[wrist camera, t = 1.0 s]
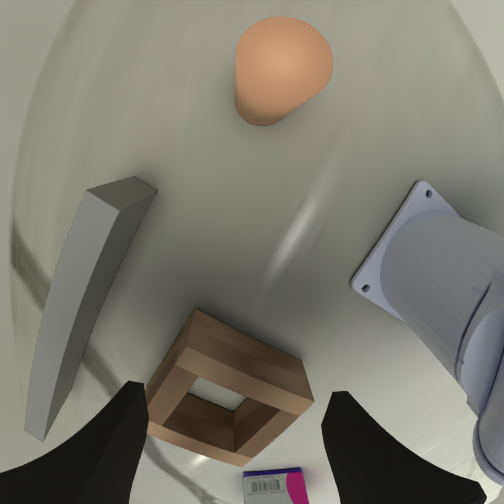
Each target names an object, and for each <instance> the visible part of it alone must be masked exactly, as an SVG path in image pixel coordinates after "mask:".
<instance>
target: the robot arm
mask: <svg viewBox="0 0 504 504" xmlns="http://www.w3.org/2000/svg"><path fill="white" fill-rule="evenodd" d="M427 190H428V191H429V195H428V196H427V197H426V191H427ZM366 284H367V288H366V289H364V290H362V287H363V286H364V285H366ZM351 287H352V288H353V290H354V291H356V292H357V293H359V294H360V295H362V296H364V297H365V298H367V299H368V300H370V301H371V302H373V303H375V304H376V305H378V306H379V307H381V308H382V309H384V310H385V311H387V312H389V313H390V314H392V315H393V316H395V317H396V318H398V319H399V320H401V321H403V322H404V323H406V324H407V325H408V326H409V327H410V328H411V329H412V330H413V331H414V332H415V333H416V335H417V336H418V337H419V338H420V339H421V340H422V341H423V342H424V344H425V345H426V346H427V347H428V348H429V349H430V351H431V352H432V353H433V354H434V355H435V356H436V358H437V359H438V360H439V361H440V362H441V363H442V365H443V366H444V367H445V368H446V369H447V371H448V372H449V373H450V374H451V375H452V377H453V378H454V379H455V380H456V381H457V383H458V384H459V385H460V386H461V388H462V389H463V390H464V391H465V393H466V394H467V404H468V405H469V407H470V408H471V409H472V411H473V412H474V413H475V415H476V416H477V417H478V419H477V421H476V424H475V427H474V431H473V451H474V455H475V458H476V461H477V463H478V465H479V466H480V468H481V470H482V471H483V472H484V473H485V475H486V476H488V477H489V478H490V479H491V480H492V481H494V482H496V483H497V484H499V485H501V486H504V236H503V235H501V234H498V233H496V232H494V231H491V230H489V229H486V228H484V227H482V226H479V225H477V224H474V223H472V222H469V221H467V220H464V219H462V218H461V217H460V216H459V215H458V213H457V212H456V211H455V210H454V209H453V208H452V207H451V206H450V205H449V204H448V203H447V202H446V201H445V200H444V199H443V197H442V196H441V195H440V194H439V193H438V192H437V191H436V190H435V189H434V188H433V187H432V186H431V185H430V184H429V183H428V182H426V181H423V180H420V181H418V182H417V183H416V184H415V186H414V187H413V189H412V191H411V192H410V194H409V195H408V197H407V199H406V200H405V202H404V203H403V205H402V207H401V208H400V210H399V211H398V213H397V214H396V216H395V217H394V219H393V220H392V222H391V224H390V225H389V227H388V228H387V230H386V231H385V233H384V234H383V236H382V237H381V239H380V240H379V241H378V243H377V244H376V246H375V247H374V249H373V250H372V252H371V253H370V255H369V256H368V257H367V259H366V260H365V262H364V263H363V264H362V266H361V267H360V269H359V270H358V271H357V273H356V274H355V276H354V277H353V278H352V280H351ZM148 423H149V413H148V408H147V402H146V396H145V389H144V383H139V382H133V381H128V382H126V383H125V384H124V386H123V387H122V388H121V389H120V390H119V391H118V393H117V394H116V395H115V396H114V397H113V398H112V399H111V400H110V401H109V402H108V404H107V405H106V406H105V407H104V408H103V409H102V410H101V411H100V412H99V413H98V414H97V415H96V416H95V417H94V418H93V419H92V420H90V421H89V422H88V423H87V424H86V425H85V426H84V427H83V428H82V429H80V430H79V431H78V432H77V433H76V434H74V435H73V436H72V437H71V438H69V439H68V440H66V441H65V442H64V443H62V444H61V445H59V446H58V447H57V448H55V449H53V450H51V451H50V452H48V453H47V454H45V455H43V456H41V457H39V458H37V459H35V460H33V461H31V462H29V463H27V464H24V465H22V466H20V467H17V468H14V469H11V470H8V471H5V472H2V473H0V504H129V498H130V492H131V488H132V483H133V480H134V477H135V473H136V470H137V467H138V463H139V460H140V457H141V454H142V450H143V447H144V444H145V440H146V435H147V429H148ZM321 428H322V435H323V441H324V447H325V450H326V453H327V457H328V460H329V463H330V466H331V469H332V473H333V476H334V479H335V482H336V485H337V489H338V493H339V497H340V502H341V504H484V503H485V501H486V499H487V496H486V494H485V493H484V491H483V489H482V487H481V486H480V484H479V482H477V481H473V480H470V479H467V478H464V477H460V476H458V475H455V474H453V473H450V472H448V471H445V470H443V469H441V468H439V467H437V466H435V465H433V464H431V463H430V462H428V461H426V460H424V459H423V458H421V457H419V456H418V455H416V454H415V453H413V452H412V451H411V450H409V449H408V448H406V447H405V446H404V445H402V444H401V443H400V442H398V441H397V440H396V439H395V438H394V437H393V436H391V435H390V434H389V433H388V432H387V431H386V430H385V429H384V428H382V427H381V426H380V425H379V424H378V423H377V422H376V421H375V420H374V419H373V418H372V417H371V416H370V415H369V414H368V413H367V412H366V411H365V409H364V408H363V407H362V406H361V405H360V404H359V403H358V402H357V401H356V400H355V399H354V398H353V397H352V396H351V394H350V393H349V392H348V391H337V392H332V395H331V398H330V401H329V404H328V407H327V410H326V413H325V416H324V418H323V421H322V424H321Z"/></svg>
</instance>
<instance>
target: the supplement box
mask: <svg viewBox="0 0 504 504" xmlns="http://www.w3.org/2000/svg"><path fill="white" fill-rule="evenodd" d="M243 490H244V504H309V501H308V496H307V492H306V487H305V482H304V477H303V472H302V469H301V468H292V469H284V470H274V471H262V472H245V473H243Z"/></svg>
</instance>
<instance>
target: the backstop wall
mask: <svg viewBox="0 0 504 504" xmlns="http://www.w3.org/2000/svg"><path fill="white" fill-rule="evenodd" d="M157 191H158V190H156V189H154V188H153V187H151V186H149V185H148V184H146V183H144V182H143V181H141V180H139V179H137V178H136V177H134V176H133V177H129V178H125V179H122V180H118V181H115V182H111V183H108V184H104V185H101V186H98V187H95V188H91V189H88V190H86V191H85V193H84V195H83V198H82V200H81V202H80V205H79V207H78V210H77V212H76V215H75V217H74V220H73V222H72V225H71V227H70V230H69V233H68V235H67V238H66V241H65V244H64V246H63V249H62V252H61V255H60V258H59V261H58V264H57V267H56V270H55V274H54V277H53V280H52V283H51V287H50V290H49V294H48V297H47V301H46V305H45V309H44V313H43V317H42V321H41V325H40V329H39V334H38V338H37V343H36V348H35V353H34V358H33V364H32V370H31V376H30V382H29V389H28V397H27V406H26V415H25V428H24V430H25V431H26V432H28V433H29V434H31V435H32V436H34V437H36V438H37V439H39V440H40V441H42V442H43V441H44V440H45V438H46V436H47V434H48V432H49V430H50V428H51V426H52V424H53V422H54V420H55V418H56V417H57V415H58V413H59V411H60V409H61V407H62V405H63V404H64V402H65V400H66V398H67V396H68V395H69V393H70V391H71V388H72V385H73V382H74V379H75V376H76V373H77V370H78V367H79V364H80V362H81V359H82V356H83V353H84V350H85V348H86V345H87V342H88V340H89V337H90V334H91V332H92V329H93V327H94V324H95V322H96V319H97V317H98V314H99V312H100V309H101V307H102V305H103V302H104V300H105V297H106V295H107V293H108V290H109V288H110V286H111V284H112V281H113V279H114V277H115V275H116V272H117V270H118V268H119V266H120V264H121V262H122V259H123V257H124V255H125V253H126V251H127V249H128V247H129V245H130V243H131V241H132V239H133V237H134V235H135V233H136V231H137V229H138V227H139V225H140V223H141V221H142V219H143V217H144V215H145V213H146V211H147V209H148V207H149V205H150V204H151V202H152V200H153V198H154V196H155V194H156V192H157Z"/></svg>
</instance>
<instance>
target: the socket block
mask: <svg viewBox="0 0 504 504" xmlns="http://www.w3.org/2000/svg"><path fill="white" fill-rule="evenodd" d="M199 376H200V377H202V378H204V379H206V380H209V381H211V382H213V383H215V384H218V385H220V386H222V387H225V388H227V389H229V390H232V391H234V392H237V393H239V394H241V395H244V396H246V397H247V399H246V400H245V401H244V402H243V403H242V404H241V405H240V406H239V407H238V408H237V410H236V411H235V412H231V411H229V410H226V409H224V408H221V407H219V406H216V405H214V404H211V403H209V402H207V401H204V400H202V399H200V398H197V397H195V396H193V395H190V394H188V393H187V392H188V390H189V389H190V388H191V386H192V385H193V383H194V382H195V381H196V379H197V378H198V377H199ZM145 396H146V402H147V408H148V413H149V423H148V429H147V434H149V435H151V436H154V437H156V438H159V439H161V440H163V441H166V442H168V443H171V444H173V445H176V446H179V447H181V448H184V449H187V450H189V451H192V452H195V453H198V454H201V455H204V456H207V457H210V458H213V459H216V460H219V461H222V462H226V463H229V464H232V465H236V466H239V467H243V466H244V465H245V464H246V463H248V462H249V461H250V460H251V459H252V458H254V457H255V456H256V455H257V454H258V453H260V452H261V451H262V450H263V449H264V448H265V447H267V446H268V445H269V444H270V443H271V442H272V441H273V440H275V439H276V438H277V437H278V436H279V435H280V434H281V433H282V432H283V431H284V430H286V429H287V428H288V427H289V426H290V425H291V424H292V423H293V422H294V421H295V420H296V419H297V418H298V417H299V416H300V415H302V414H303V413H304V412H305V411H306V410H307V409H308V408H309V407H310V406H311V405H312V404H313V403H314V398H313V395H312V392H311V388H310V385H309V382H308V379H307V375H306V372H305V369H304V366H303V362H302V361H300V360H298V359H296V358H294V357H292V356H290V355H287V354H285V353H283V352H281V351H279V350H277V349H275V348H273V347H270V346H268V345H266V344H264V343H262V342H260V341H258V340H256V339H254V338H252V337H250V336H248V335H246V334H244V333H242V332H240V331H238V330H236V329H234V328H232V327H230V326H228V325H226V324H224V323H222V322H220V321H218V320H216V319H215V318H213V317H211V316H209V315H207V314H205V313H203V312H201V311H199V310H198V309H196V308H195V309H194V311H193V313H192V314H191V316H190V317H189V319H188V321H187V322H186V324H185V325H184V327H183V329H182V330H181V332H180V333H179V335H178V337H177V338H176V340H175V342H174V343H173V345H172V346H171V348H170V350H169V351H168V353H167V354H166V356H165V358H164V359H163V361H162V363H161V364H160V366H159V367H158V369H157V371H156V372H155V374H154V376H153V377H152V379H151V381H150V382H149V384H148V386H147V387H146V389H145Z"/></svg>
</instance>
